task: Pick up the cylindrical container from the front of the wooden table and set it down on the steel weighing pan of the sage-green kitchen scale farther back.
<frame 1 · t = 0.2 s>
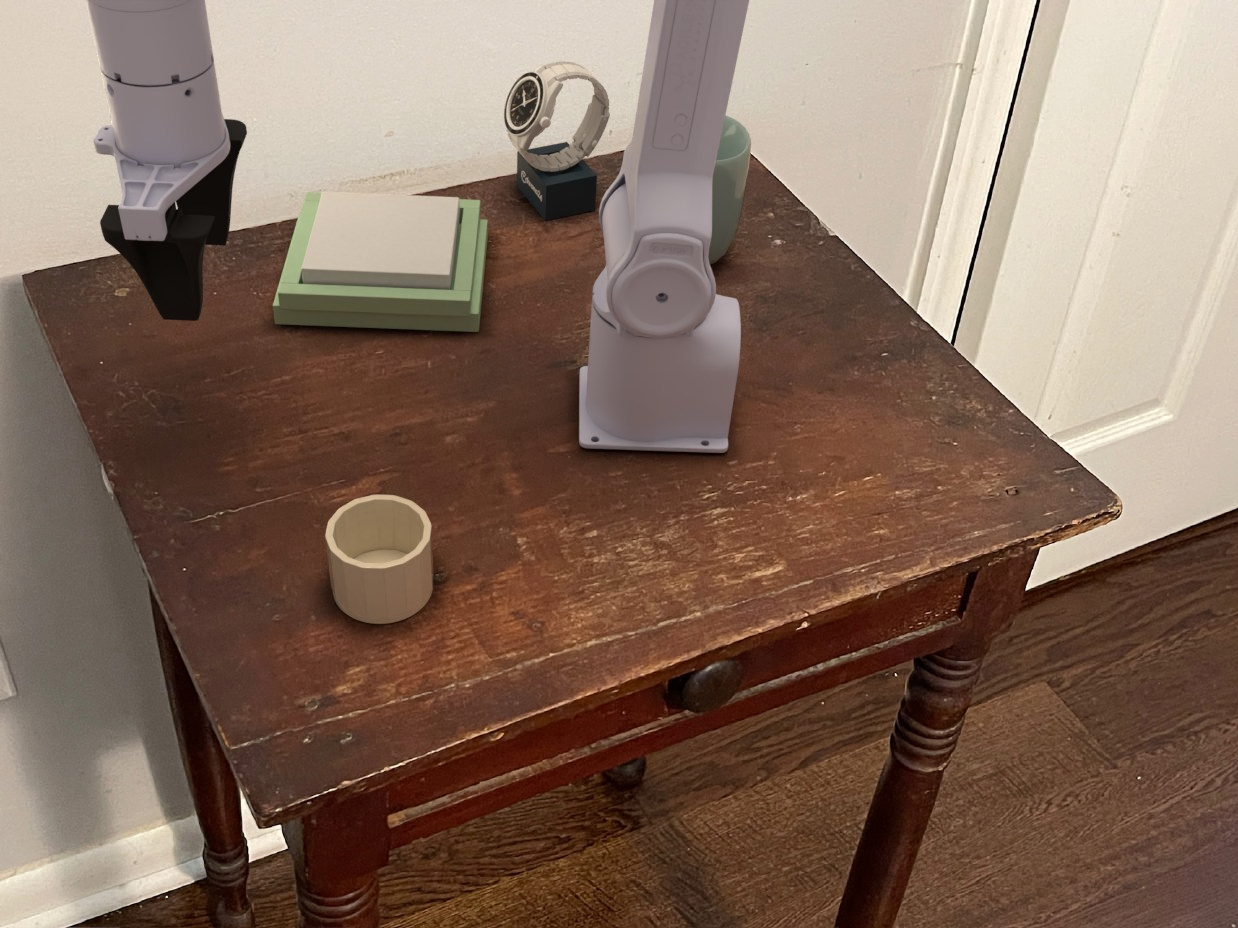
hand: (196, 278, 80), 10 cm above the table, tool pointing down, fingers open, 7 cm apart
cylindrical container: (383, 586, 76), on the table
cup: (684, 255, 103), on the table
watch: (554, 200, 108), on the table
scale: (386, 278, 98), on the table
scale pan: (384, 240, 96), point 3 cm above the table, slide at 0.0 cm
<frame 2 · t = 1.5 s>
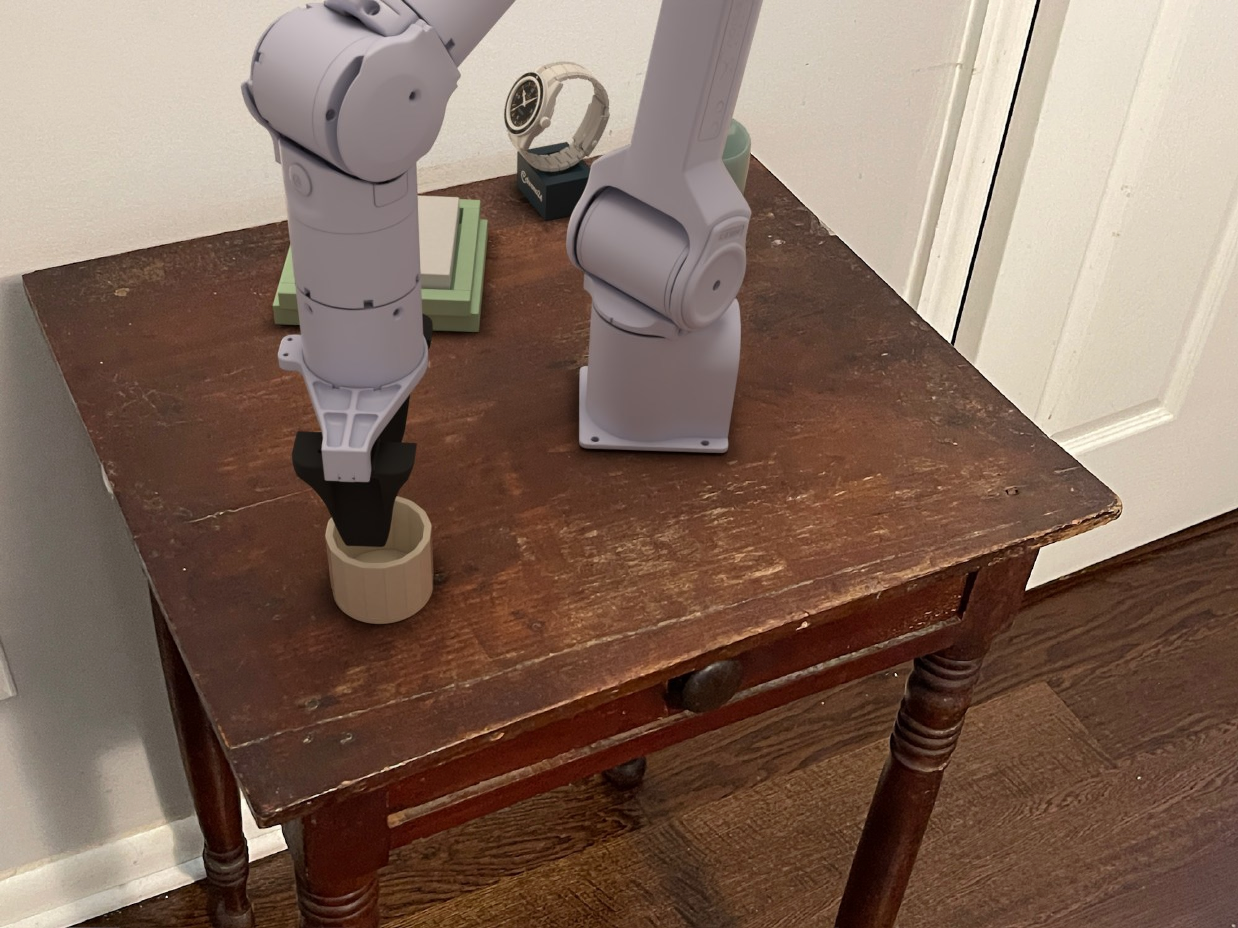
hand: (374, 489, 71), 8 cm above the table, tool pointing down, fingers open, 7 cm apart
nothing on the table moved.
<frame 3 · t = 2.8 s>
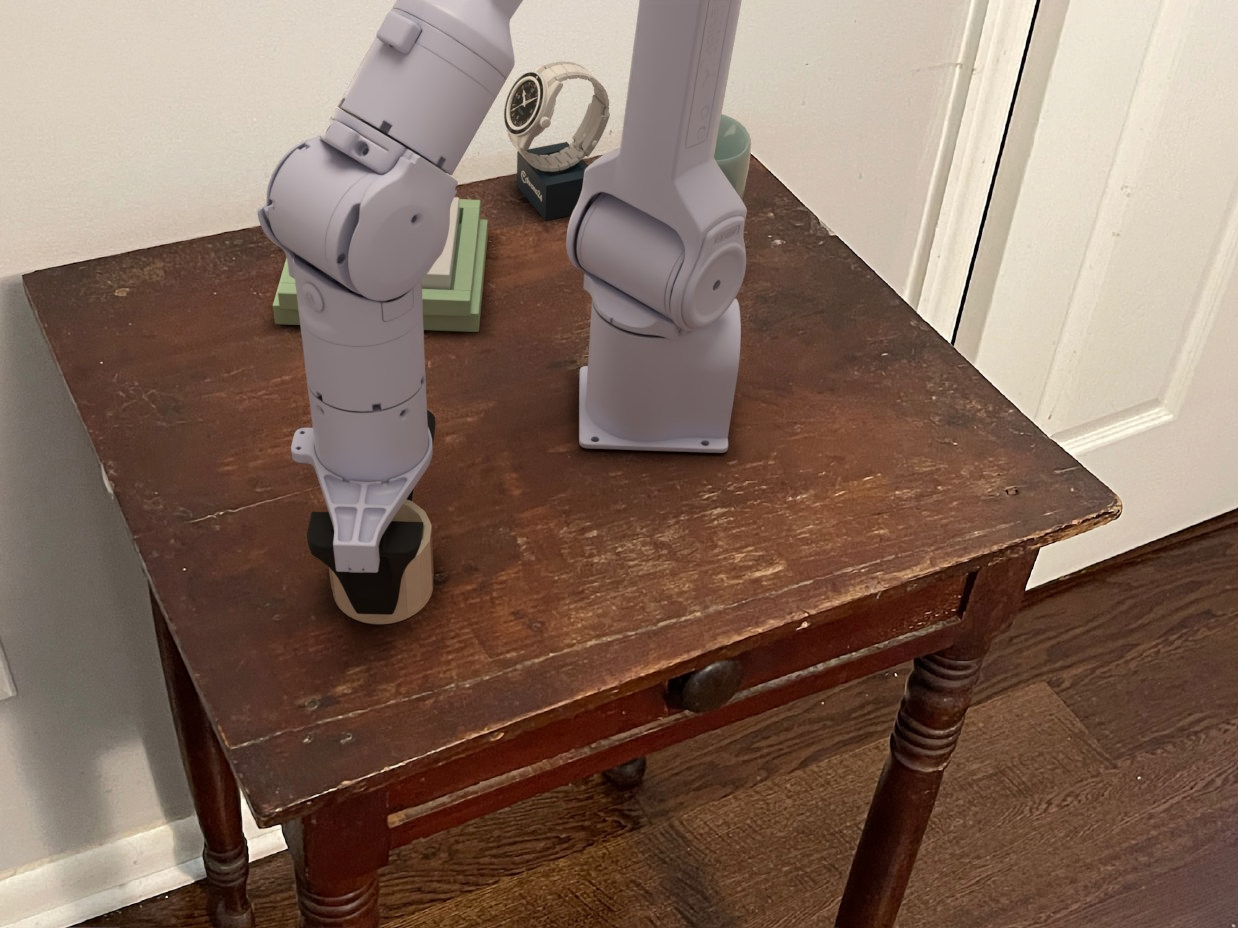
hand: (381, 566, 75), 2 cm above the table, tool pointing down, fingers closed on cylindrical container, 5 cm apart
cylindrical container: (383, 586, 76), on the table, touching gripper
everything else where it was.
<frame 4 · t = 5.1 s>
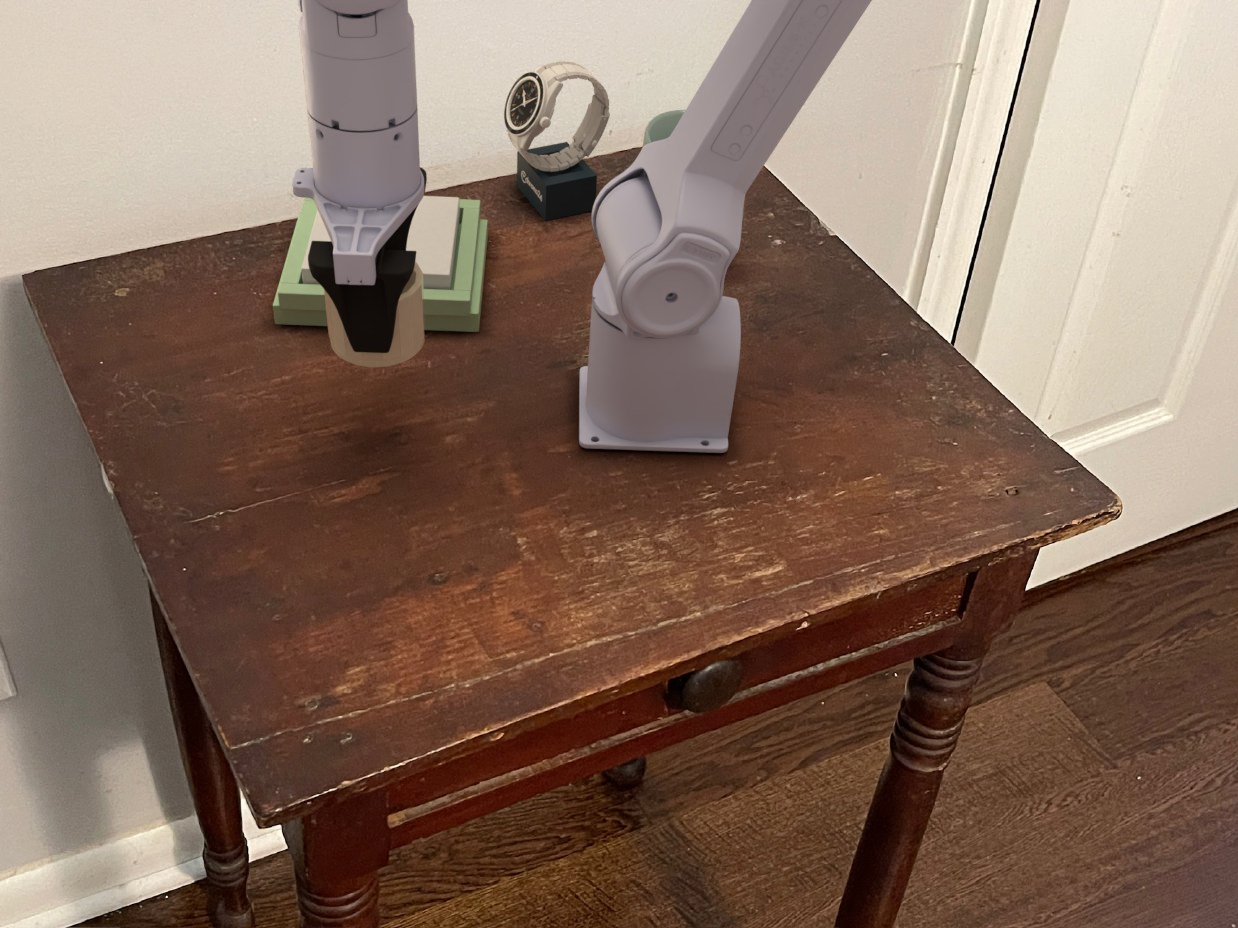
hand: (377, 316, 80), 9 cm above the table, tool pointing down, fingers closed on cylindrical container, 5 cm apart
cylindrical container: (377, 338, 81), point 7 cm above the table, touching gripper
everything else where it was.
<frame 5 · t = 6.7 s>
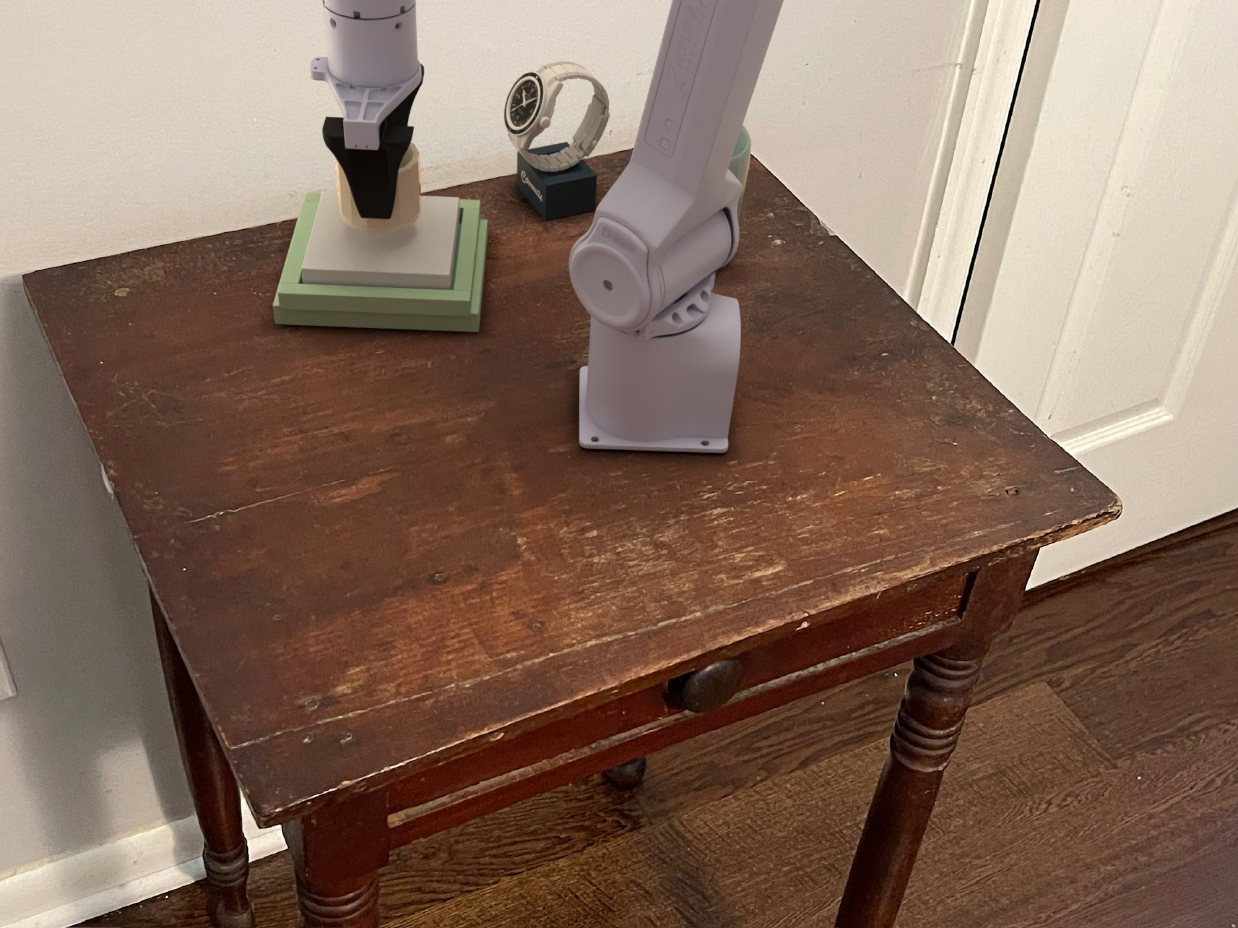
hand: (381, 191, 93), 7 cm above the table, tool pointing down, fingers closed on cylindrical container, 5 cm apart
cylindrical container: (380, 211, 94), point 6 cm above the table, touching gripper
everything else where it was.
when the fingers open (6 cm above the table, at t = 7.8 s): cylindrical container stays where it is, resting on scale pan.
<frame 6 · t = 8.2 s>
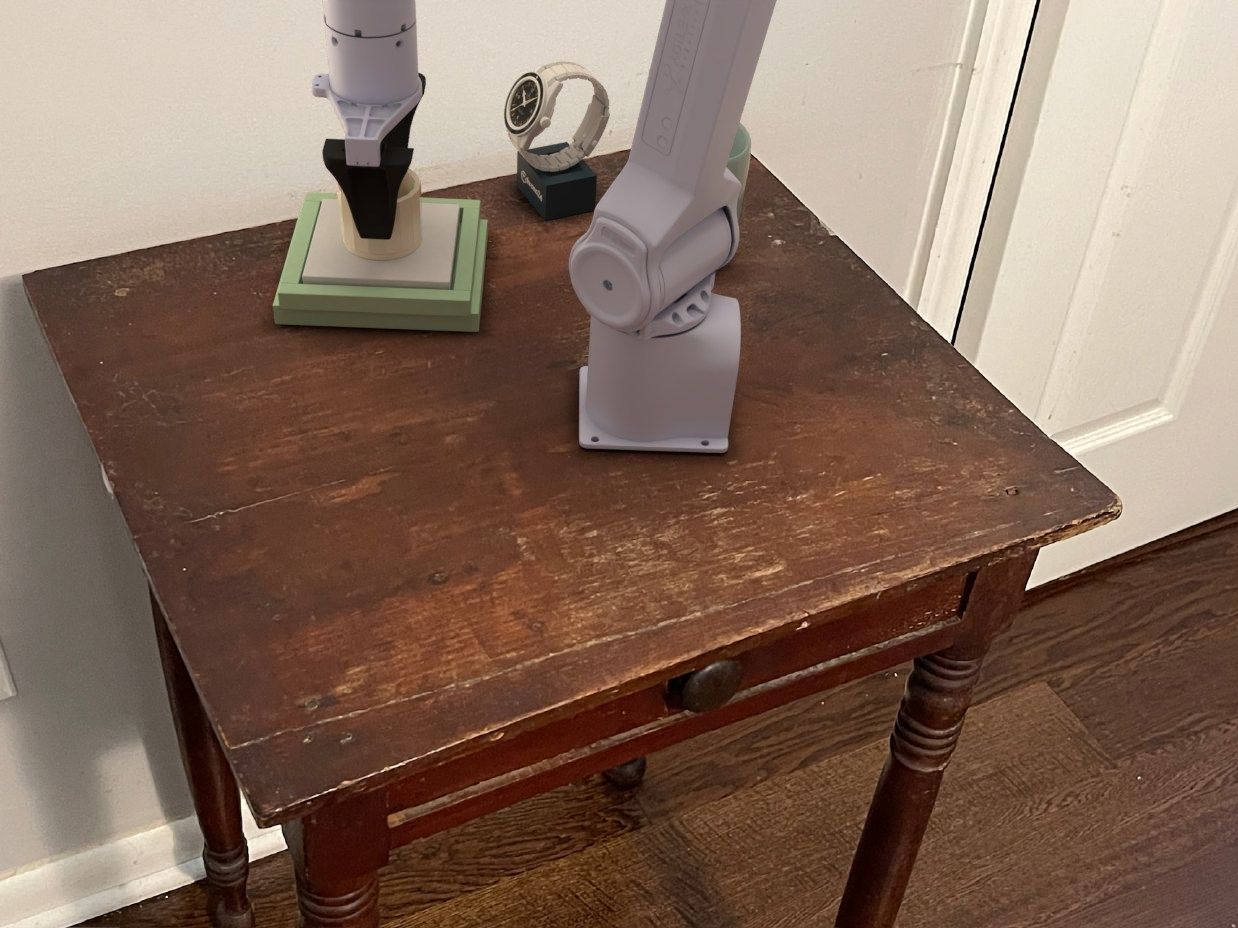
hand: (382, 206, 94), 6 cm above the table, tool pointing down, fingers open, 7 cm apart
cylindrical container: (382, 238, 96), point 3 cm above the table, touching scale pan
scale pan: (384, 247, 96), point 3 cm above the table, slide at -0.6 cm, touching cylindrical container
everything else where it was.
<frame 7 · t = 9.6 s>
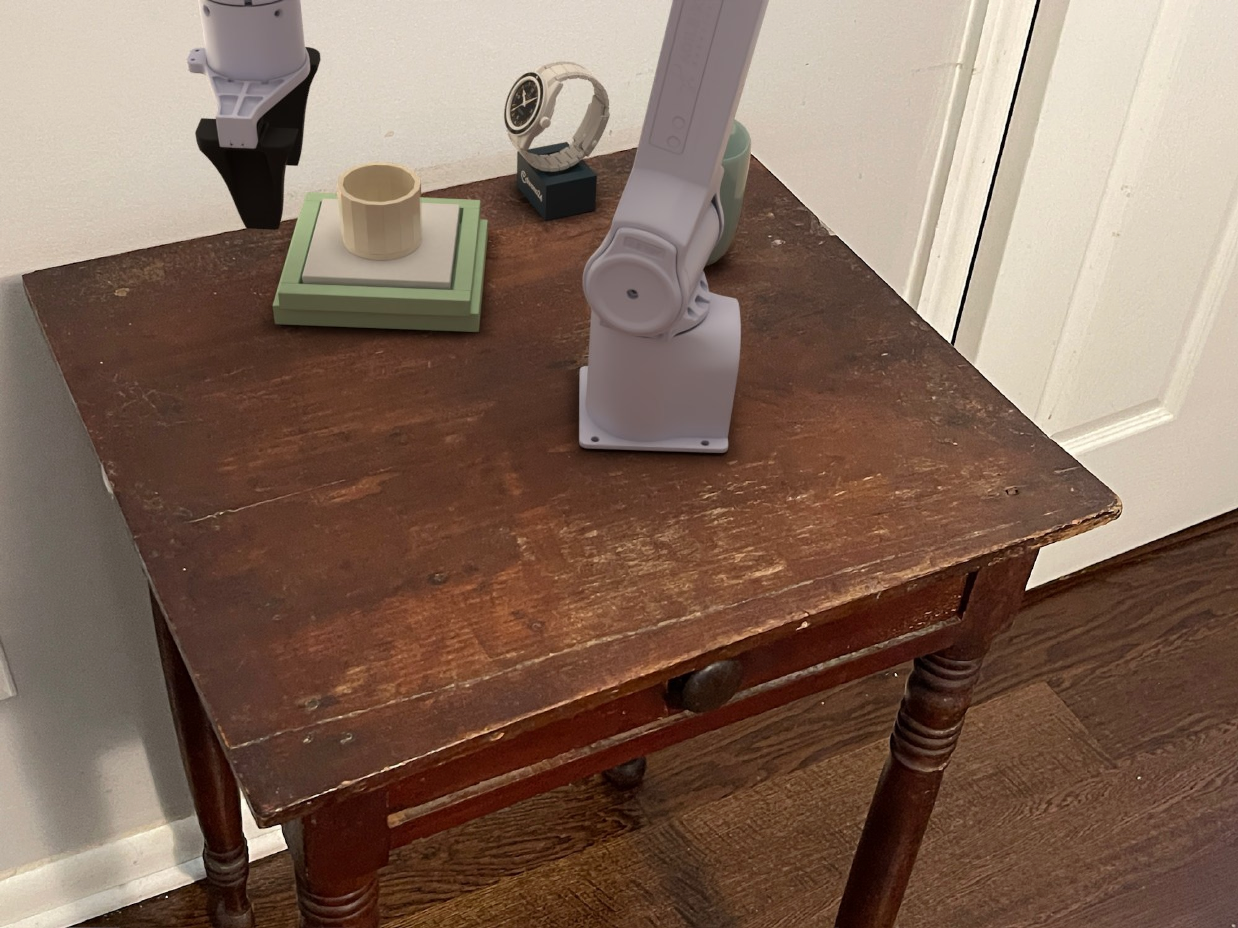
hand: (273, 193, 86), 10 cm above the table, tool pointing down, fingers open, 7 cm apart
nothing on the table moved.
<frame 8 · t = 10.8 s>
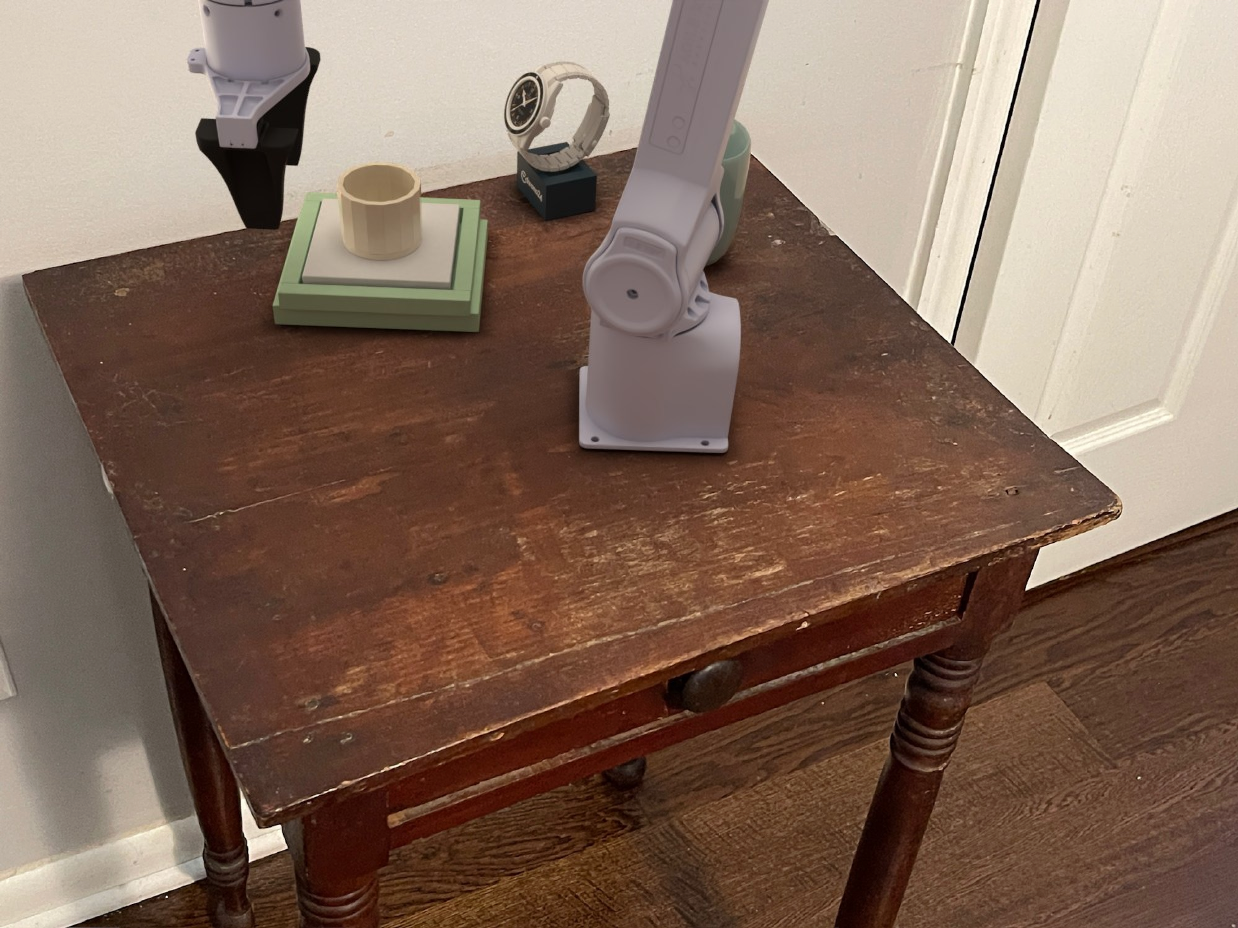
hand: (273, 193, 86), 10 cm above the table, tool pointing down, fingers open, 7 cm apart
nothing on the table moved.
at the end: cylindrical container inside the target area on the scale (0.1 cm from its centre), point 3.4 cm above the scale's base; cylindrical container tilted 0° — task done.
